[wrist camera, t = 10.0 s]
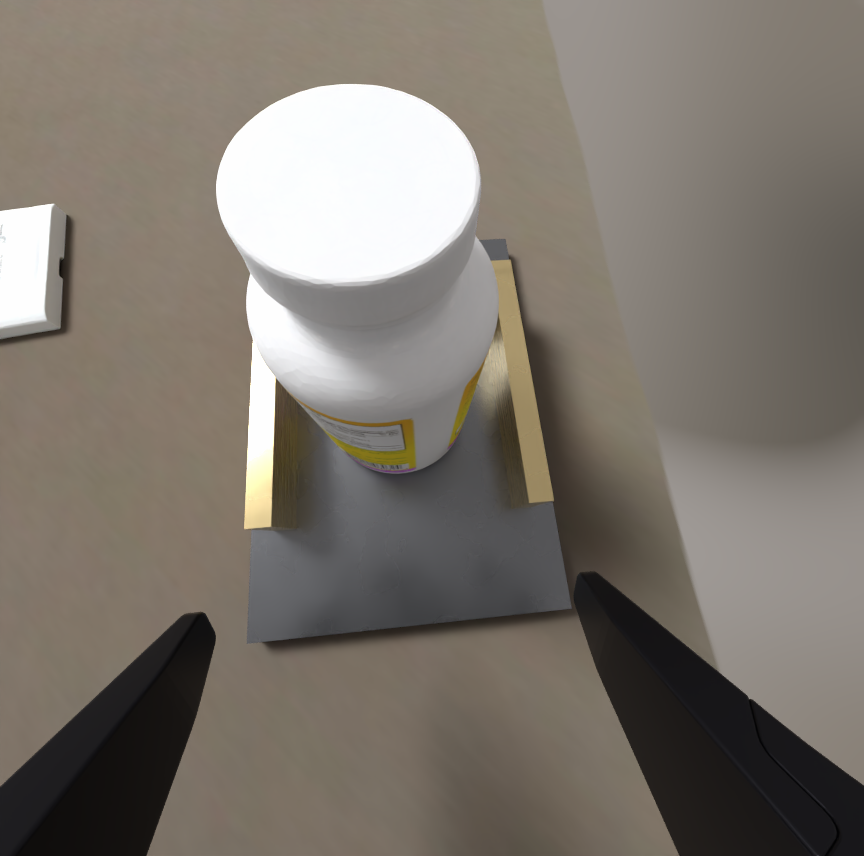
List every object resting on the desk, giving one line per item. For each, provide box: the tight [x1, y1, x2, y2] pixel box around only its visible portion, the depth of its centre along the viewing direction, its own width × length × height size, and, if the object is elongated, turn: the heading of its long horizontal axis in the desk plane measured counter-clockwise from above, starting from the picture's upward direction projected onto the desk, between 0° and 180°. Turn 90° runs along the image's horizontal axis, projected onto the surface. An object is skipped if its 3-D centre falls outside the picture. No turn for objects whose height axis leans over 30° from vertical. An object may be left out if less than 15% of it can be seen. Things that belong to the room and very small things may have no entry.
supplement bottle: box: [216, 84, 499, 474], centre depth 13 cm, size 7×7×13 cm
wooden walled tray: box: [244, 239, 572, 644], centre depth 18 cm, size 20×14×4 cm
